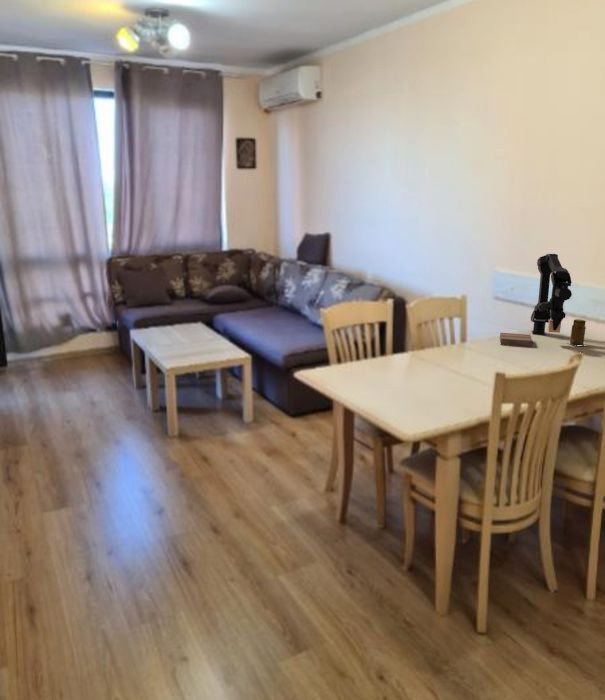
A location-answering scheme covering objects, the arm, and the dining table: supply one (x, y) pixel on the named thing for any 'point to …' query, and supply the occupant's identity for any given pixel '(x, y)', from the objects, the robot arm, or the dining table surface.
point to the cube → (550, 327)
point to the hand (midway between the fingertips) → (553, 328)
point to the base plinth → (515, 339)
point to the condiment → (578, 332)
